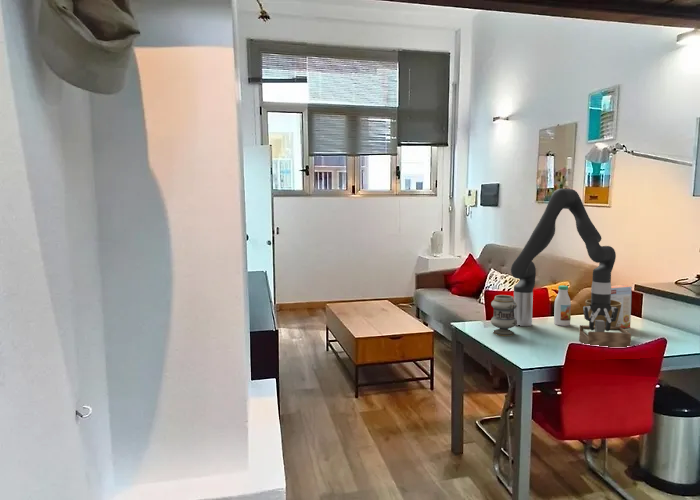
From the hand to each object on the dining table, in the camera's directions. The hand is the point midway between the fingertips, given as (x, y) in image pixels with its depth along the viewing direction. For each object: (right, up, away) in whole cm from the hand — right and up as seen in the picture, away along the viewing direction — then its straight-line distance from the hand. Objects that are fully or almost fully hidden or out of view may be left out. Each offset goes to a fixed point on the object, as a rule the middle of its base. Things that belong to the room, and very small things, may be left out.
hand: (599, 330), depth 207 cm
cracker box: (+24, -4, +31) cm, 39 cm away
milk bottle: (+1, -4, +38) cm, 38 cm away
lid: (+2, -2, 0) cm, 3 cm away
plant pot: (+10, -5, +17) cm, 21 cm away
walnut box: (+2, -7, 0) cm, 7 cm away
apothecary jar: (-35, -5, +22) cm, 41 cm away
